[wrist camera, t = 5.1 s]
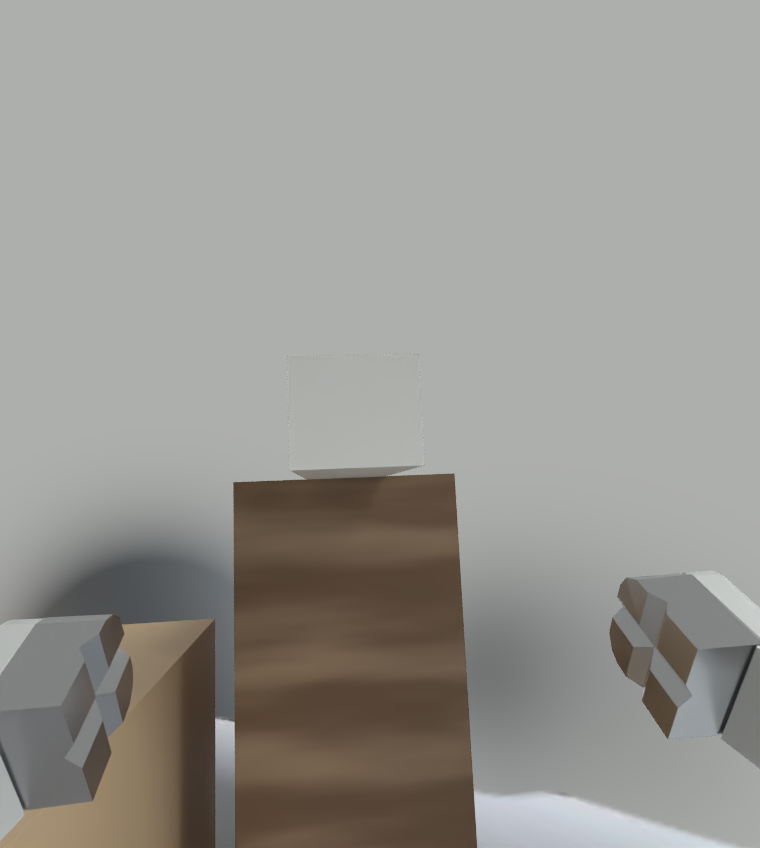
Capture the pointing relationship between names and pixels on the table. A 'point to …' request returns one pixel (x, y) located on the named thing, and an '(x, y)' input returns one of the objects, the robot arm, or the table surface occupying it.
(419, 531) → the pedestal
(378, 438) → the bar
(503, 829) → the table surface
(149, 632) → the carton
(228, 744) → the table surface
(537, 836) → the table surface
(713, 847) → the table surface
